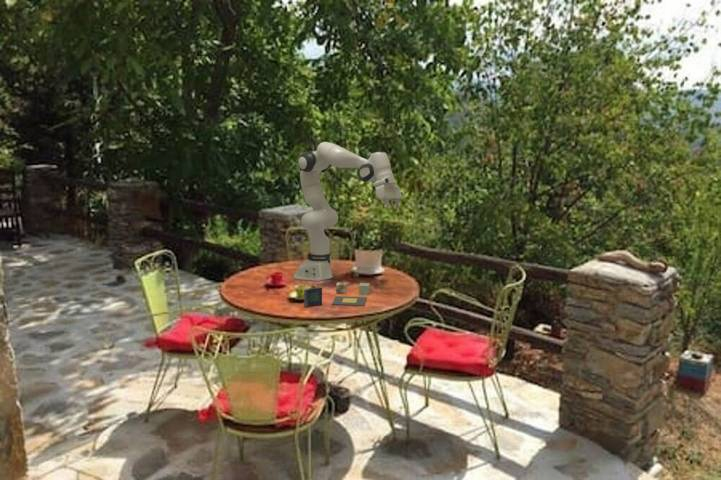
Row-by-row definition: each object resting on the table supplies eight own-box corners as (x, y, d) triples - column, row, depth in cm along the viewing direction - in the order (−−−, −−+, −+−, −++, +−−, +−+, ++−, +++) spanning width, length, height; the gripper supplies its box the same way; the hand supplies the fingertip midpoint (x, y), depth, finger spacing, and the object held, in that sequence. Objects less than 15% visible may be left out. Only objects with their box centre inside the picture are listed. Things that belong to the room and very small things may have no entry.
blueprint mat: (331, 305, 285) (331, 303, 285) (335, 297, 298) (335, 296, 298) (364, 306, 284) (364, 304, 284) (366, 298, 297) (366, 297, 296)
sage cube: (359, 294, 303) (359, 285, 302) (360, 292, 308) (360, 283, 307) (368, 295, 302) (368, 285, 301) (369, 292, 307) (369, 283, 306)
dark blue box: (305, 307, 281) (305, 286, 279) (303, 306, 284) (302, 284, 282) (323, 305, 286) (322, 283, 283) (320, 303, 288) (320, 282, 286)
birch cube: (336, 294, 304) (336, 284, 303) (337, 291, 309) (337, 282, 308) (345, 294, 303) (345, 285, 302) (346, 291, 308) (346, 282, 307)
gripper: (390, 184, 304) (397, 209, 303) (371, 183, 286) (379, 210, 285) (400, 180, 301) (408, 206, 300) (382, 179, 283) (390, 207, 282)
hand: (393, 208), depth 292 cm, fingers open, 8 cm apart
